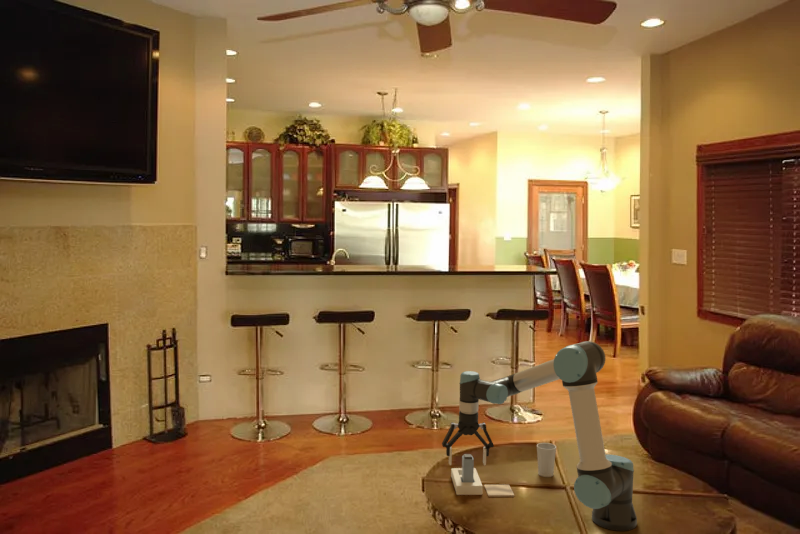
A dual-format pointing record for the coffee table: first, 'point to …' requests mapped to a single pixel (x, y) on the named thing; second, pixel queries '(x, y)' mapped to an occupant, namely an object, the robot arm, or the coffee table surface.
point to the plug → (467, 468)
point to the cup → (546, 459)
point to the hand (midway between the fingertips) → (467, 464)
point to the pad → (499, 491)
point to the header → (466, 483)
